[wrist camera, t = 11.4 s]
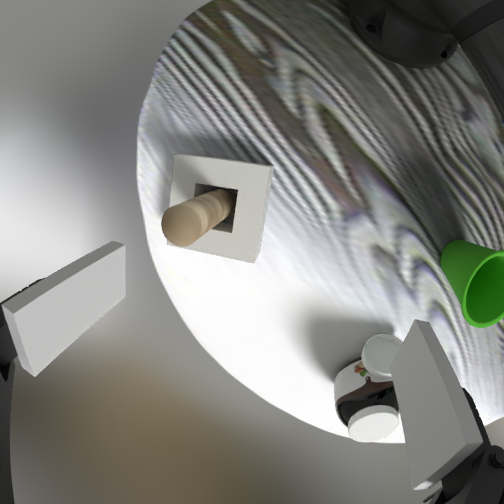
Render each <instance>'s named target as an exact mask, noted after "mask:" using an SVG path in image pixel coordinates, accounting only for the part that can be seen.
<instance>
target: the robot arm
mask: <svg viewBox="0 0 504 504" xmlns="http://www.w3.org/2000/svg"><path fill="white" fill-rule="evenodd" d="M347 11H348V16H349V19H350V21H351V23H352V25H353V27H354V29H355V30H356V32H357V33H358V35H359V36H360V37H361V38H362V39H363V40H364V41H365V42H366V43H367V44H368V45H369V46H370V47H371V48H372V49H373V50H375V51H376V52H377V53H379V54H380V55H382V56H383V57H385V58H387V59H389V60H391V61H393V62H395V63H398V64H400V65H403V66H407V67H411V68H419V69H425V68H432V67H435V66H438V65H440V64H442V63H443V62H445V61H446V60H448V59H449V58H450V57H451V56H452V55H453V54H454V53H455V51H456V49H457V47H458V45H460V47H461V48H462V50H463V51H464V52H465V54H466V55H467V57H468V58H469V60H470V61H471V63H472V65H473V66H474V68H475V69H476V71H477V73H478V74H479V76H480V78H481V79H482V81H483V83H484V85H485V86H486V88H487V90H488V92H489V94H490V96H491V98H492V100H493V102H494V104H495V106H496V108H497V110H498V112H499V114H500V116H501V117H500V118H501V122H502V124H503V126H504V0H347ZM125 248H126V246H125V244H121V243H118V242H115V241H112V242H110V243H108V244H106V245H104V246H102V247H100V248H98V249H96V250H95V251H93V252H91V253H89V254H87V255H85V256H83V257H81V258H80V259H78V260H76V261H74V262H72V263H71V264H69V265H67V266H65V267H63V268H62V269H60V270H58V271H57V272H55V273H53V274H51V275H50V276H48V277H46V278H43V279H39V280H37V281H35V282H34V283H32V284H30V285H29V287H25V288H24V289H22V291H19V292H17V293H15V294H14V295H12V296H11V297H9V298H7V299H6V300H5V301H3V302H1V303H0V504H15V503H14V496H13V488H12V478H11V466H10V465H11V464H10V412H11V398H12V387H13V378H14V371H15V363H14V360H13V359H14V358H15V357H17V356H18V357H19V360H20V362H21V365H22V367H23V368H24V369H25V370H27V371H28V372H29V373H30V374H32V375H33V376H36V375H38V374H39V373H40V372H41V371H42V370H43V369H44V368H45V367H46V366H47V365H48V364H49V363H50V362H52V361H53V360H54V359H55V358H56V357H57V356H58V355H59V354H60V353H61V352H62V351H64V350H65V349H66V348H67V347H68V346H69V345H70V344H71V343H73V342H74V341H75V340H76V339H77V338H78V337H79V336H80V335H81V334H83V333H84V332H85V331H86V330H87V329H88V328H89V327H91V326H92V325H93V324H94V323H95V322H96V321H97V320H99V319H100V318H101V317H102V316H103V315H104V314H106V313H107V312H108V311H109V310H110V309H111V308H113V307H114V306H115V305H116V304H117V303H119V302H120V301H121V300H122V299H123V298H125V297H126V290H125V289H126V287H125ZM389 368H390V372H391V376H392V380H393V384H394V388H395V393H396V397H397V401H398V406H399V411H400V415H401V420H402V425H403V431H404V436H405V442H406V447H407V453H408V460H409V466H410V474H411V482H412V490H416V489H427V488H431V487H432V486H433V485H435V484H436V483H437V482H439V481H440V480H441V481H442V487H441V488H440V489H438V490H437V491H435V492H434V493H433V494H431V495H430V496H428V497H427V498H426V499H425V500H424V501H423V502H424V503H425V502H427V501H428V500H430V499H431V498H432V500H431V501H430V503H429V504H504V450H503V449H502V448H501V447H499V446H496V445H494V446H491V444H490V441H489V438H488V435H487V433H486V430H485V428H484V425H483V423H482V420H481V418H480V417H479V413H478V410H477V409H476V406H475V403H474V401H473V399H472V397H471V396H470V394H469V393H468V392H467V391H466V390H465V388H462V387H461V385H460V383H459V381H458V379H457V376H456V374H455V372H454V370H453V368H452V366H451V364H450V362H449V360H448V358H447V356H446V354H445V352H444V350H443V348H442V346H441V344H440V342H439V340H438V338H437V337H436V335H435V333H434V331H433V329H432V327H431V325H430V324H429V322H425V321H420V320H416V319H415V320H414V322H413V324H412V326H411V328H410V330H409V332H408V334H407V336H406V338H405V340H404V342H403V344H402V346H401V348H400V349H399V351H398V353H397V355H396V357H395V358H394V360H393V362H392V364H391V365H390V367H389Z"/></svg>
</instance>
